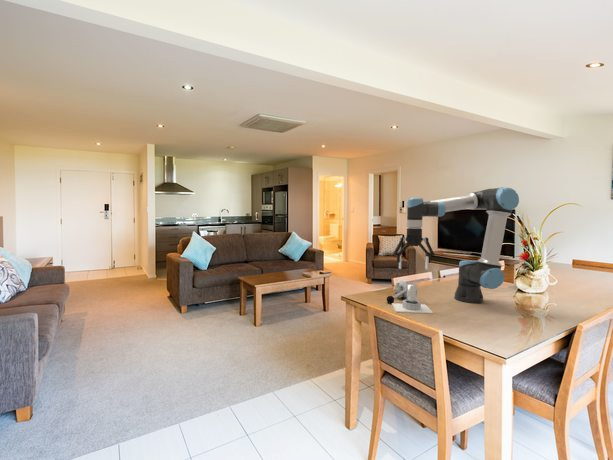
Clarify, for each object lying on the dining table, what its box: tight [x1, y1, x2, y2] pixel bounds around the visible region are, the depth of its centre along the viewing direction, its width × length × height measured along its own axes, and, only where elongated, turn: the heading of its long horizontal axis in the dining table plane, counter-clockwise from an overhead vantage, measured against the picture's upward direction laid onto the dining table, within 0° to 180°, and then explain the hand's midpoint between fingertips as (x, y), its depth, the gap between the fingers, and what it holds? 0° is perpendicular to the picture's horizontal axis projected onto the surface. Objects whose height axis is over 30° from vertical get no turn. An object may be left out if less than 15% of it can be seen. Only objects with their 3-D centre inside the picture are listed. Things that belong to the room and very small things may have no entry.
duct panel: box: [391, 299, 434, 315], centre depth 170 cm, size 18×14×4 cm
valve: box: [386, 280, 408, 305], centre depth 187 cm, size 10×18×15 cm
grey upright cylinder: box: [406, 283, 418, 304], centre depth 171 cm, size 6×5×12 cm
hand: (413, 268), depth 169 cm, fingers open, 13 cm apart
